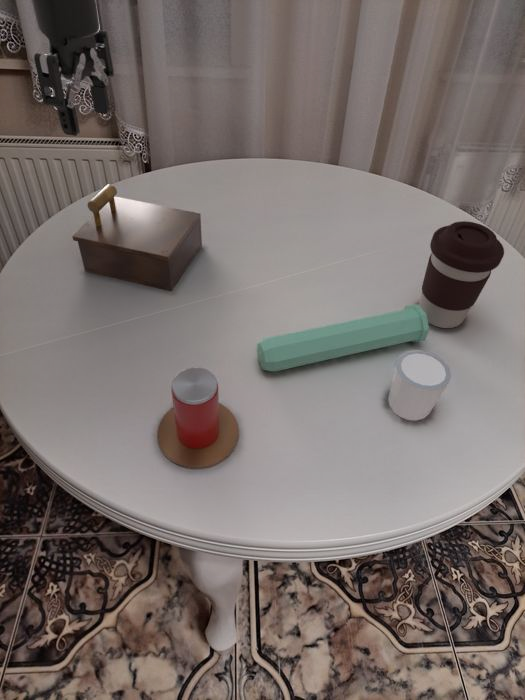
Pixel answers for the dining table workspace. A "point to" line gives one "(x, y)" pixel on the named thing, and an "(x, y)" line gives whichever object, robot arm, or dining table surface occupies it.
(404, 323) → the container
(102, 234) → the lid
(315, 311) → the dining table surface
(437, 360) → the white short cylinder
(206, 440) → the can
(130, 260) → the chest
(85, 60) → the robot arm
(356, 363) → the dining table surface
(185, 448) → the coaster
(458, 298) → the coffee cup
